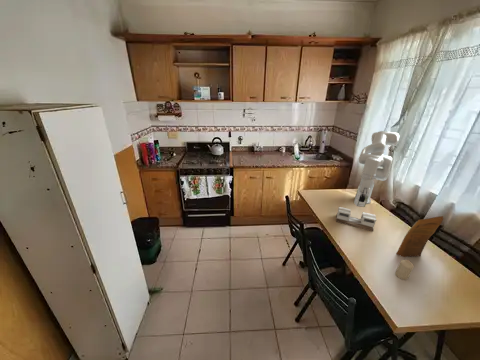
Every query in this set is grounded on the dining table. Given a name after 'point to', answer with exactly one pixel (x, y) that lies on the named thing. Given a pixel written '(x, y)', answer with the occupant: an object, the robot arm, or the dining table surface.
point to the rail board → (356, 219)
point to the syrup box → (358, 194)
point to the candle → (404, 269)
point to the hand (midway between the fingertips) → (360, 199)
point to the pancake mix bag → (418, 237)
